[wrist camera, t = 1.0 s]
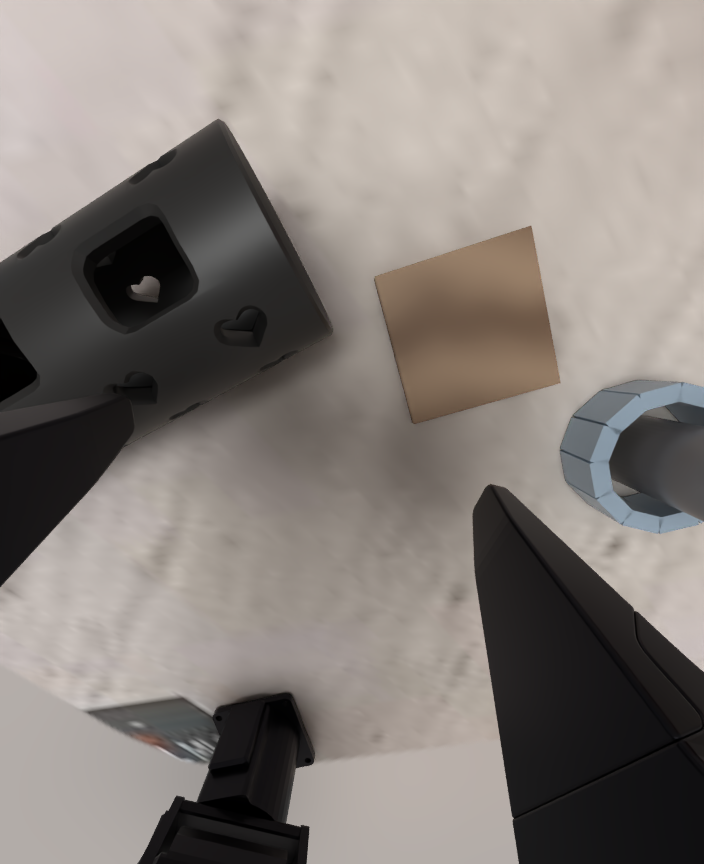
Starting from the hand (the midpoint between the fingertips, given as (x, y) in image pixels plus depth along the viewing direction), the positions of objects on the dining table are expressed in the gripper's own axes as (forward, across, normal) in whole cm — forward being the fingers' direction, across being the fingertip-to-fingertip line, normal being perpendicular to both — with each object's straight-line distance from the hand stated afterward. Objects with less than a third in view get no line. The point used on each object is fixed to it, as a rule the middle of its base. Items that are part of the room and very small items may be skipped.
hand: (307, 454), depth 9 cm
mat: (+15, -6, 0) cm, 16 cm away
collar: (+13, -18, +4) cm, 23 cm away
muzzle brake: (+12, +14, +7) cm, 20 cm away
